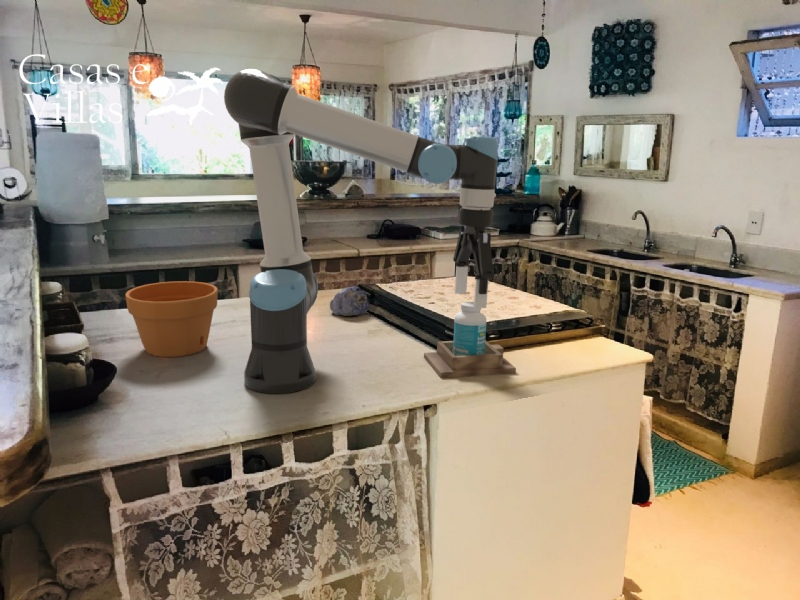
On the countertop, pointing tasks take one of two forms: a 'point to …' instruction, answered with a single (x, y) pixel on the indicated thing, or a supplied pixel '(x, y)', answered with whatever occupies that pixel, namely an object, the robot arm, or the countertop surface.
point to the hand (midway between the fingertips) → (469, 300)
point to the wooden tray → (468, 361)
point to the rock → (350, 302)
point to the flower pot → (173, 316)
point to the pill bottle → (469, 331)
